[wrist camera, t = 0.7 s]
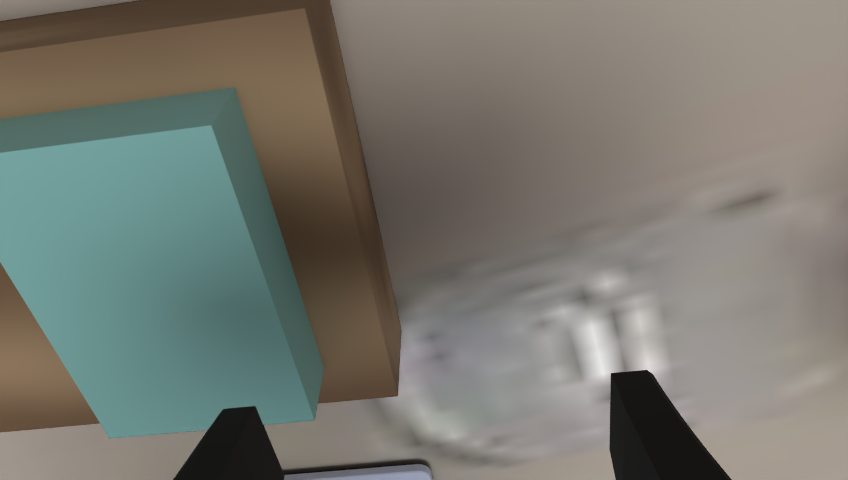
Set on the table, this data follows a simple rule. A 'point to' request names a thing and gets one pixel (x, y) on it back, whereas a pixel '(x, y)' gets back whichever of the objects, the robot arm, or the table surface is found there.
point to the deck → (276, 151)
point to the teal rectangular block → (157, 262)
